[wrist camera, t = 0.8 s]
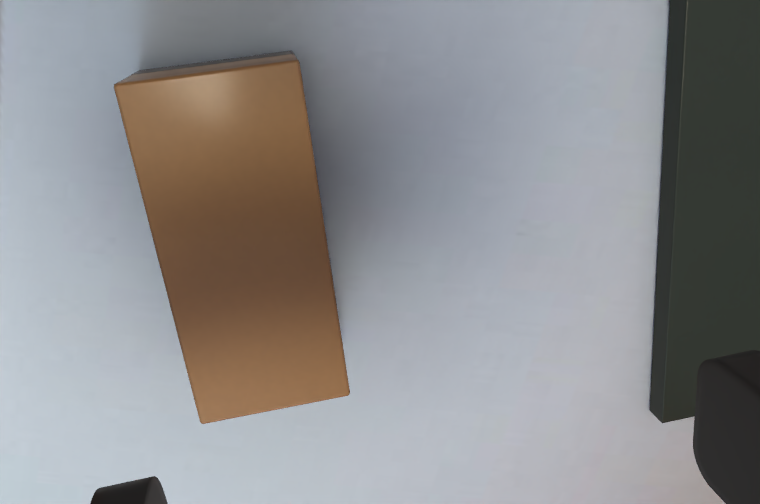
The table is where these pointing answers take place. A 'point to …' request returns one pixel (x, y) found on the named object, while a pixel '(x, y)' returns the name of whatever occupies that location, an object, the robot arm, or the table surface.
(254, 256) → the eraser
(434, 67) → the table surface
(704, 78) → the chalkboard
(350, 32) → the table surface
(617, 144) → the table surface
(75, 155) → the table surface
